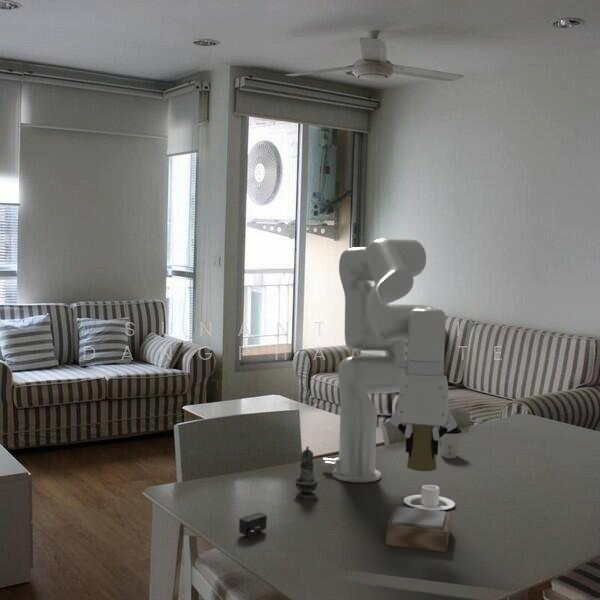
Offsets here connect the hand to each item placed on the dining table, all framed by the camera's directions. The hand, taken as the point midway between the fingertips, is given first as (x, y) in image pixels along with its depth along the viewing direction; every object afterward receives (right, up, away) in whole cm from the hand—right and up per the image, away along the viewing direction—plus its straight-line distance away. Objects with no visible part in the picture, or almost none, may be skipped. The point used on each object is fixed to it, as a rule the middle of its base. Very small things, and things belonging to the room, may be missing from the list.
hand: (421, 456), depth 163 cm
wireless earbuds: (-35, -16, +2) cm, 38 cm away
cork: (0, -2, 0) cm, 2 cm away
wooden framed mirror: (-1, -17, +1) cm, 17 cm away
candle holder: (+5, -17, +24) cm, 30 cm away
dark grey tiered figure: (-24, -15, +28) cm, 40 cm away
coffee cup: (+18, -14, +66) cm, 70 cm away
